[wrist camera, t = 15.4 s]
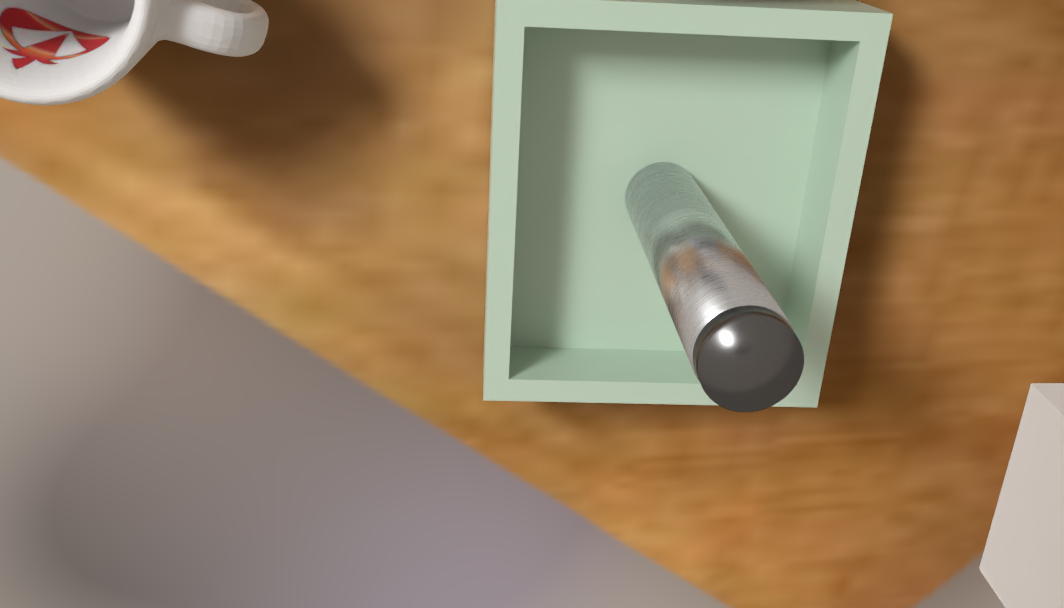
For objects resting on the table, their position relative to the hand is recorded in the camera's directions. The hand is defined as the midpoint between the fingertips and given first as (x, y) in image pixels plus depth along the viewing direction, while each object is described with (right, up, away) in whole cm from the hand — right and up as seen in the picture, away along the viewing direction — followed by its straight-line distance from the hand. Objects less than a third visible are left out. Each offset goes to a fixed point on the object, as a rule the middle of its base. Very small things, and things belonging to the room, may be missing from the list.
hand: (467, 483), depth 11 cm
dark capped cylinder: (+6, +6, +29) cm, 30 cm away
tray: (+6, +7, +30) cm, 31 cm away
